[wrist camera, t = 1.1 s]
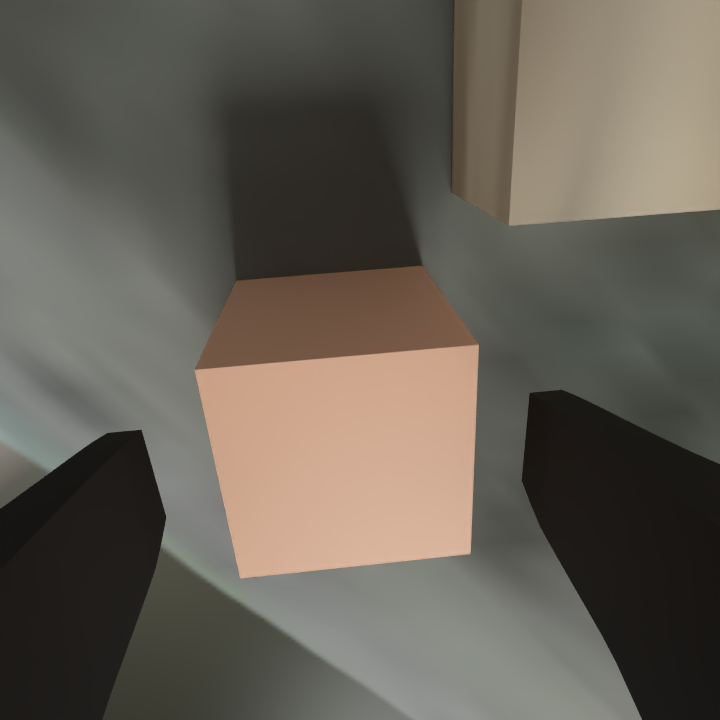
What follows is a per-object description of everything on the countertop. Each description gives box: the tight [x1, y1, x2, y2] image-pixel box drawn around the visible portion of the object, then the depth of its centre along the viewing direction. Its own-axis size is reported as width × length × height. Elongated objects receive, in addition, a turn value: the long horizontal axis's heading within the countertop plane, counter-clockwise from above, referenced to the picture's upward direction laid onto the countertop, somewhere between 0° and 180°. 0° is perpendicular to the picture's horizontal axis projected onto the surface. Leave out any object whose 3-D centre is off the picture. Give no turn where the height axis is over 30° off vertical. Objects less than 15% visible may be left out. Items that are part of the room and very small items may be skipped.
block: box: [195, 266, 479, 578], centre depth 12 cm, size 5×5×5 cm
